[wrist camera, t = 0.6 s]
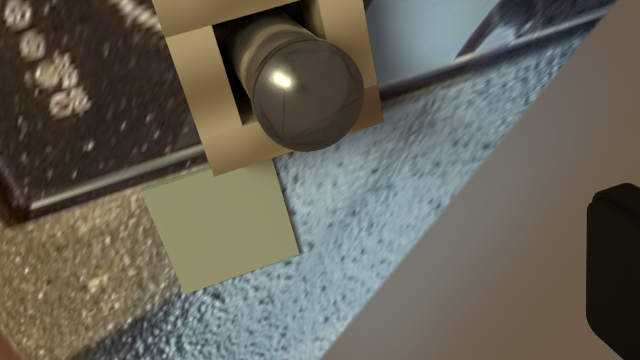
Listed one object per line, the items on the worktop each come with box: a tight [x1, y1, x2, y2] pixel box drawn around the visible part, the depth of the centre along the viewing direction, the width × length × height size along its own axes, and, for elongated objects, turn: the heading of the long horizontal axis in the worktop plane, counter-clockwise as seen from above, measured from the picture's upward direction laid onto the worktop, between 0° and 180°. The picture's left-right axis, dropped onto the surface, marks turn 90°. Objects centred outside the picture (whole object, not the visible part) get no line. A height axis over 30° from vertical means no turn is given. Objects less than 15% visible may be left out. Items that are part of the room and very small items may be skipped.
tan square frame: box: [152, 0, 384, 177], centre depth 34 cm, size 11×11×5 cm
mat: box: [141, 158, 299, 294], centre depth 40 cm, size 9×9×1 cm
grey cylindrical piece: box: [225, 8, 364, 152], centre depth 31 cm, size 5×5×12 cm
